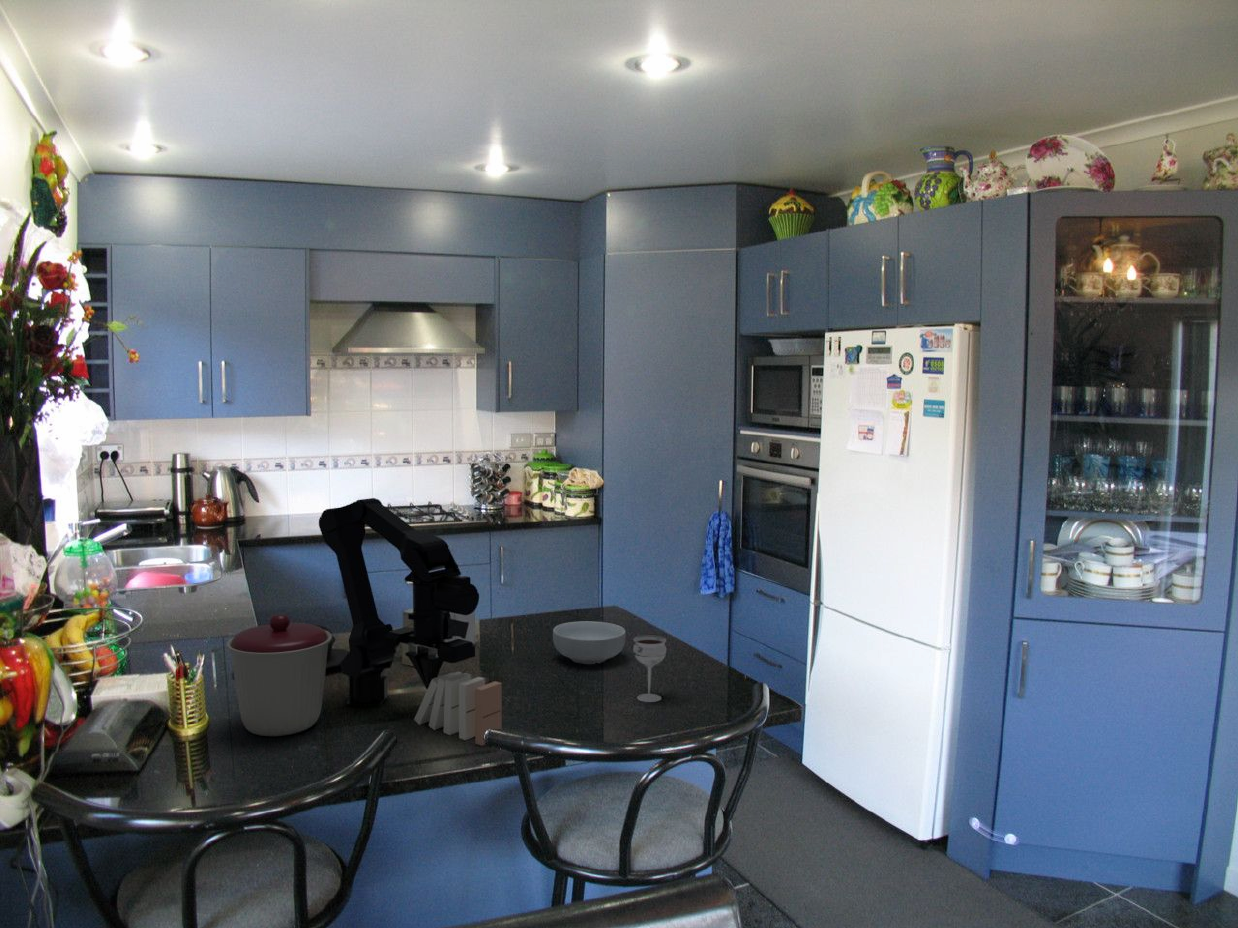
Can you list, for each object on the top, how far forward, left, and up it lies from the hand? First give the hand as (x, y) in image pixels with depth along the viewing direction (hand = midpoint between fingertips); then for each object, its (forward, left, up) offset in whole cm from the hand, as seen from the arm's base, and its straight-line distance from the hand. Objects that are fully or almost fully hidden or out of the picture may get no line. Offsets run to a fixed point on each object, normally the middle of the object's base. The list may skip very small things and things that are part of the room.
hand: (430, 689), depth 178 cm
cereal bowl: (+28, +41, -6) cm, 50 cm away
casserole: (-36, +31, -7) cm, 47 cm away
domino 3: (+6, -4, -6) cm, 9 cm away
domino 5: (+12, -9, -6) cm, 16 cm away
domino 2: (+2, -2, -6) cm, 7 cm away
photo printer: (-3, +48, -6) cm, 48 cm away
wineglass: (+41, +15, -6) cm, 44 cm away
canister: (-27, -3, -6) cm, 28 cm away
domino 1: (-1, +1, -6) cm, 6 cm away
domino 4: (+9, -6, -6) cm, 13 cm away
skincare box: (-10, +36, -6) cm, 37 cm away
